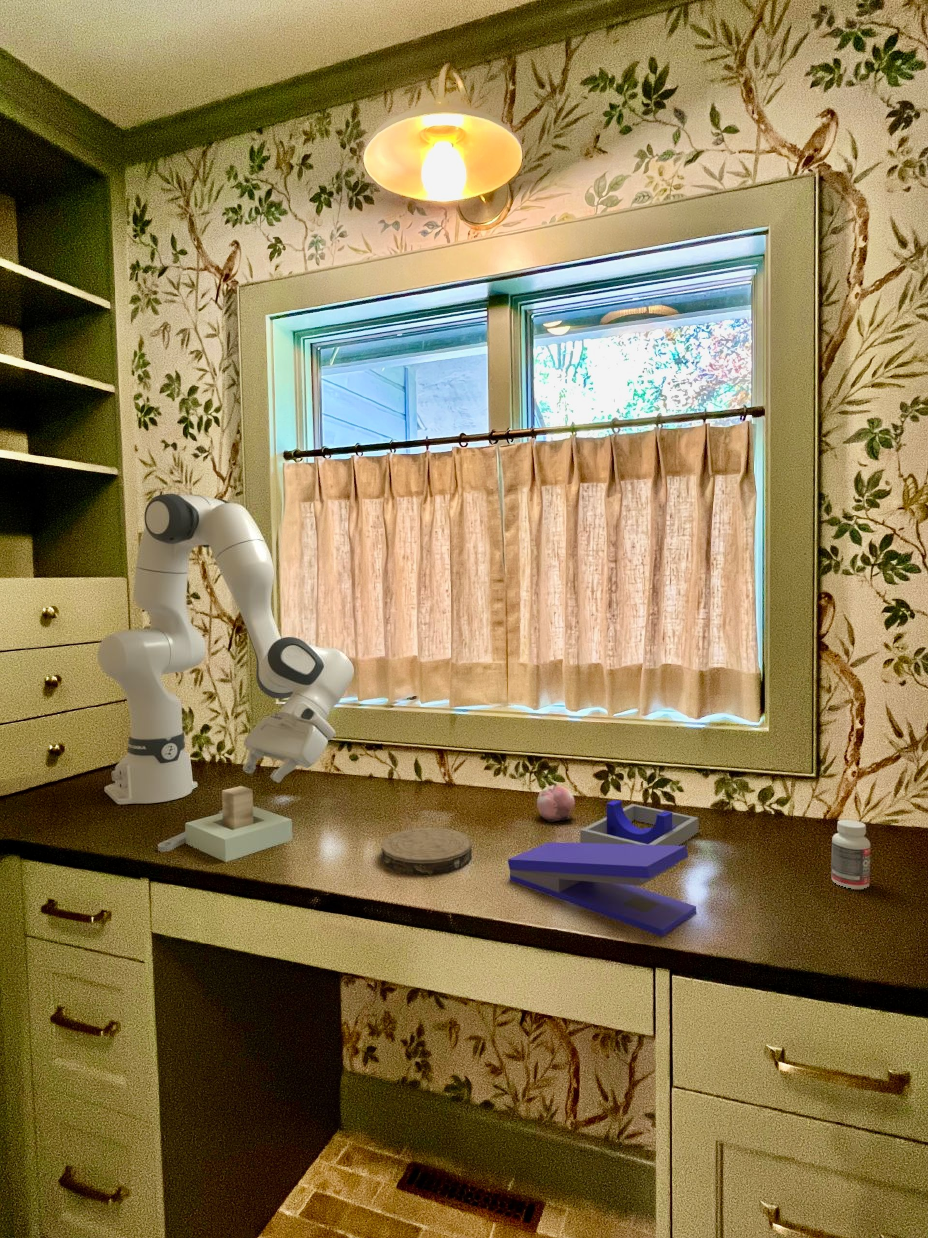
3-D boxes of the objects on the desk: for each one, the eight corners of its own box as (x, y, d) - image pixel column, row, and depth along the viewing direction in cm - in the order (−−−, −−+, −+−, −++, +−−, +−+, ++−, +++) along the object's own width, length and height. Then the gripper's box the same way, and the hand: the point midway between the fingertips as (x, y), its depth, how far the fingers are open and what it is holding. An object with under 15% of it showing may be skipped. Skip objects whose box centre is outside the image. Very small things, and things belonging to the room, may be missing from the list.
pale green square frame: (185, 844, 136) (185, 823, 136) (250, 824, 146) (250, 805, 146) (225, 862, 127) (225, 839, 126) (292, 840, 137) (291, 819, 137)
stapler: (660, 941, 98) (660, 870, 97) (504, 882, 117) (504, 823, 117) (699, 912, 106) (699, 847, 106) (547, 863, 126) (547, 807, 125)
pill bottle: (872, 893, 111) (873, 830, 111) (833, 888, 113) (834, 826, 113) (866, 879, 116) (867, 820, 116) (829, 874, 118) (830, 816, 118)
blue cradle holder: (675, 842, 133) (676, 810, 133) (664, 849, 130) (664, 816, 129) (618, 828, 141) (618, 798, 141) (606, 834, 138) (606, 803, 138)
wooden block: (223, 842, 136) (222, 790, 136) (242, 836, 139) (241, 785, 139) (234, 847, 134) (233, 794, 133) (253, 841, 137) (252, 789, 136)
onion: (532, 824, 147) (526, 789, 149) (557, 820, 152) (551, 785, 154) (561, 821, 142) (554, 784, 143) (586, 816, 147) (579, 780, 149)
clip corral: (580, 845, 133) (580, 829, 132) (632, 818, 148) (632, 803, 147) (650, 864, 123) (650, 847, 123) (698, 833, 138) (698, 817, 138)
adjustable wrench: (165, 856, 131) (165, 846, 131) (140, 851, 134) (140, 841, 134) (259, 814, 154) (259, 806, 154) (236, 811, 157) (236, 803, 157)
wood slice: (363, 861, 127) (363, 845, 127) (426, 837, 139) (426, 822, 139) (428, 886, 116) (427, 867, 116) (490, 857, 128) (490, 840, 128)
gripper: (262, 703, 152) (220, 758, 145) (322, 715, 138) (280, 776, 131) (280, 721, 155) (241, 775, 148) (341, 734, 142) (301, 794, 135)
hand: (260, 776), depth 140 cm, fingers open, 8 cm apart
